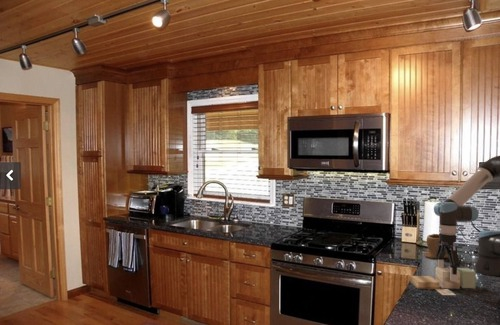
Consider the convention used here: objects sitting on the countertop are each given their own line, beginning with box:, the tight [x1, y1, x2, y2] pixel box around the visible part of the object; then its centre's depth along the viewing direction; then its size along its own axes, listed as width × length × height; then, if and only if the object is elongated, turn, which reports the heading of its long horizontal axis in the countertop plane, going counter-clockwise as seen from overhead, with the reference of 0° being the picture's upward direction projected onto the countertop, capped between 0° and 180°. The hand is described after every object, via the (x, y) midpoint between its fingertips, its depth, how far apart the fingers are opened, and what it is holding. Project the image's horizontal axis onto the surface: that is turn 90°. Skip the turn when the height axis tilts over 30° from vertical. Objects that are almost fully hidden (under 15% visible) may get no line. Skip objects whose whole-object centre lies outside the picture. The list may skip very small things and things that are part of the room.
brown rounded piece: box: [422, 233, 449, 259], centre depth 244 cm, size 15×12×15 cm
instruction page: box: [434, 288, 456, 296], centre depth 180 cm, size 6×8×1 cm
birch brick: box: [434, 266, 461, 289], centre depth 189 cm, size 8×8×8 cm
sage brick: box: [457, 267, 477, 289], centre depth 189 cm, size 6×6×8 cm
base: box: [409, 275, 441, 290], centre depth 190 cm, size 11×11×3 cm
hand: (446, 276), depth 189 cm, fingers open, 13 cm apart
